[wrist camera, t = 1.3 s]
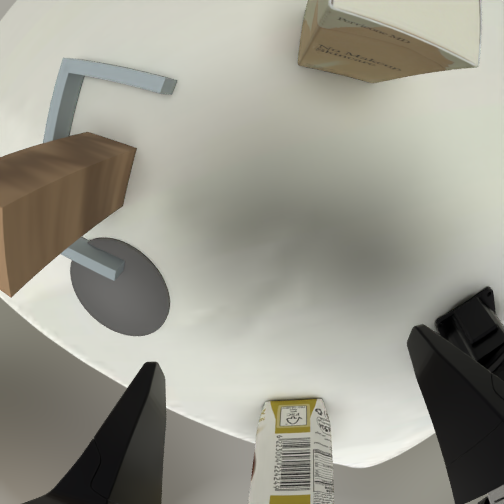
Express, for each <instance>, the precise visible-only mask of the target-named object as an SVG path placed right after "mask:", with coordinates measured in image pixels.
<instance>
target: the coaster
mask: <svg viewBox="0 0 504 504" xmlns="http://www.w3.org/2000/svg"><path fill="white" fill-rule="evenodd" d="M87 243H88V244H90V245H92V246H94V247H96V248H98V249H101V250H103V251H105V252H107V253H109V254H111V255H113V256H116V257H118V258H120V259H122V260H124V261H125V263H124V269H123V271H122V273H121V274H120V275H119V276H118V277H117V279H116V280H115V281H113V280H111V279H109V278H107V277H105V276H103V275H101V274H99V273H97V272H95V271H93V270H91V269H89V268H87V267H85V266H83V265H81V264H79V263H77V262H75V261H73V260H72V262H71V268H70V274H71V281H72V285H73V288H74V291H75V293H76V295H77V297H78V299H79V301H80V302H81V304H82V305H83V306H84V308H85V309H86V310H87V311H88V313H89V314H90V315H91V316H92V317H93V318H95V319H96V320H97V321H98V322H100V323H101V324H102V325H104V326H106V327H107V328H109V329H111V330H113V331H115V332H118V333H121V334H125V335H130V336H144V335H148V334H151V333H153V332H155V331H156V330H158V329H159V328H160V327H161V326H162V325H163V323H164V322H165V320H166V318H167V315H168V312H169V306H170V300H169V294H168V289H167V287H166V284H165V282H164V280H163V278H162V276H161V274H160V273H159V271H158V270H157V268H156V267H155V266H154V265H153V263H152V262H151V261H150V260H149V259H148V258H147V257H146V256H145V255H143V254H142V253H141V252H140V251H138V250H137V249H135V248H134V247H132V246H130V245H129V244H127V243H124V242H122V241H119V240H116V239H111V238H97V239H93V240H90V241H88V242H87Z"/></svg>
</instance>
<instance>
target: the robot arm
mask: <svg viewBox="0 0 504 504" xmlns="http://www.w3.org/2000/svg"><path fill="white" fill-rule="evenodd" d="M436 328H437V331H438V334H437V333H436V332H434V331H433V330H431V329H430V328H429V327H427V326H426V325H423V324H421V325H417V326H414V327H413V329H412V331H411V333H410V336H409V338H408V341H407V347H408V350H409V354H410V357H411V361H412V364H413V368H414V371H415V375H416V378H417V382H418V384H419V387H420V390H421V392H422V395H423V398H424V400H425V403H426V406H427V409H428V412H429V414H430V417H431V420H432V423H433V426H434V429H435V432H436V435H437V438H438V442H439V444H440V448H441V451H442V455H443V458H444V462H445V465H446V469H447V473H448V477H449V480H450V484H451V488H452V492H453V497H454V500H455V504H465V503H467V502H470V501H472V500H474V499H476V498H478V497H480V496H483V495H485V494H487V495H488V496H487V497H485V498H484V499H483V500H481V501H480V502H478V504H504V326H503V324H502V323H501V321H500V320H499V319H498V317H497V316H496V314H495V304H494V295H493V290H492V289H491V288H490V287H488V288H486V289H485V290H483V291H482V292H480V293H479V294H477V295H476V296H474V297H473V298H471V299H470V300H468V301H467V302H465V303H464V304H462V305H461V306H459V307H457V308H456V309H454V310H453V311H451V312H449V313H448V314H446V315H445V316H443V317H441V318H440V319H438V320H437V321H436ZM165 430H166V389H165V376H164V374H163V372H162V370H161V368H160V366H159V364H158V363H157V362H146V363H145V364H144V365H143V366H142V368H141V369H140V371H139V372H138V373H137V375H136V376H135V378H134V379H133V381H132V382H131V384H130V385H129V386H128V388H127V389H126V391H125V392H124V394H123V395H122V397H121V398H120V400H119V401H118V402H117V404H116V406H115V407H114V408H113V410H112V411H111V413H110V414H109V416H108V417H107V419H106V420H105V421H104V423H103V425H102V426H101V428H100V429H99V430H98V432H97V433H96V435H95V436H94V439H92V441H91V442H90V444H89V445H88V447H87V448H86V449H85V451H84V452H83V454H82V455H81V457H80V458H79V459H78V460H77V462H76V463H75V464H74V465H73V466H72V468H71V469H70V470H69V471H68V472H67V474H66V475H65V476H64V477H63V478H62V479H61V480H60V482H59V483H58V484H57V485H56V486H55V487H54V488H53V489H52V490H51V491H50V492H48V493H47V494H46V495H43V496H41V497H39V498H36V499H33V500H31V501H28V502H25V503H23V504H161V497H162V474H163V457H164V443H165Z"/></svg>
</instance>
